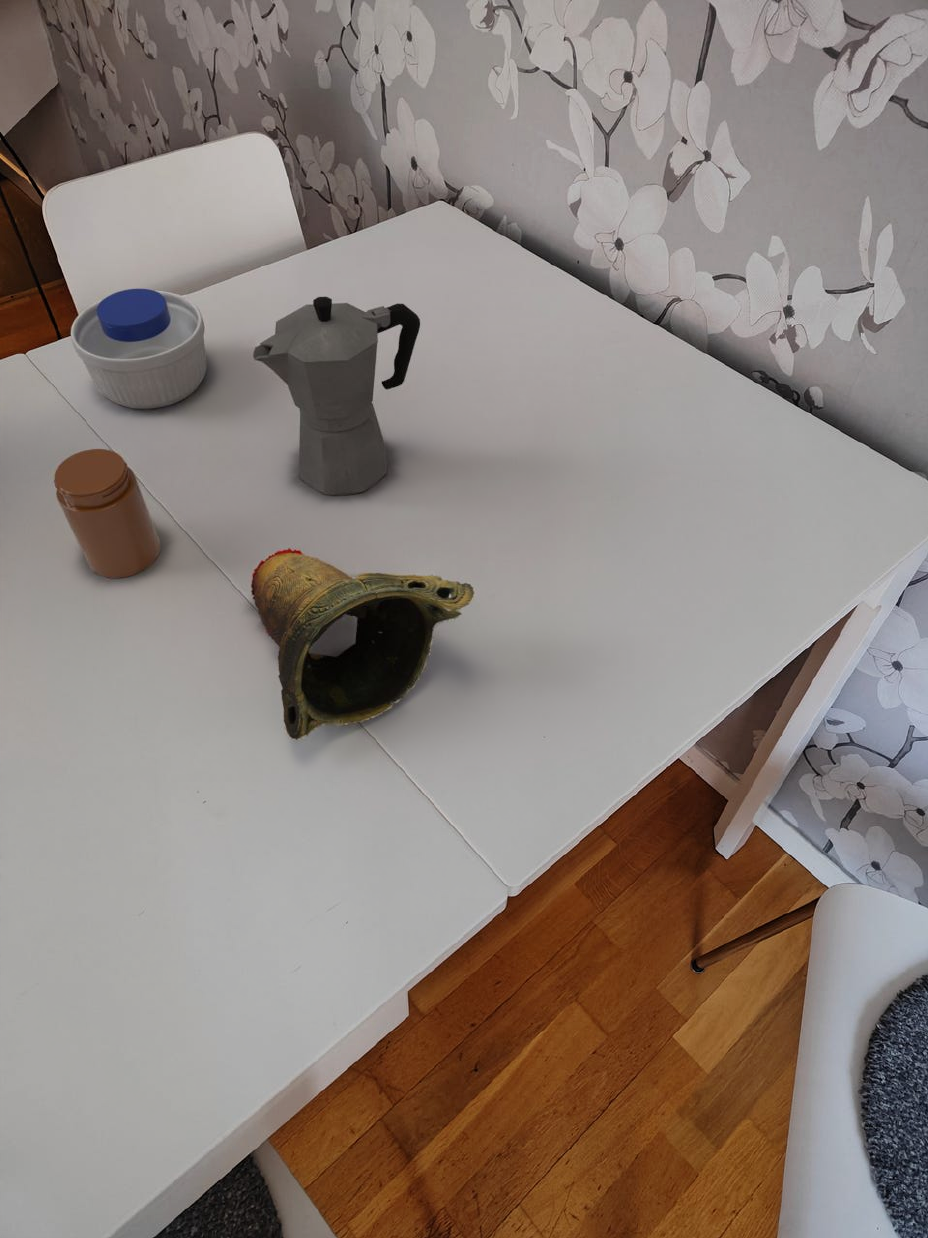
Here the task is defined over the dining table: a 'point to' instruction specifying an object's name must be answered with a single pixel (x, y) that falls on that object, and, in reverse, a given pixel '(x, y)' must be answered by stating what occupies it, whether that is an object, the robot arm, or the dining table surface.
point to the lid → (133, 315)
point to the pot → (385, 635)
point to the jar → (106, 513)
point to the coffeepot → (338, 387)
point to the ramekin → (145, 357)
